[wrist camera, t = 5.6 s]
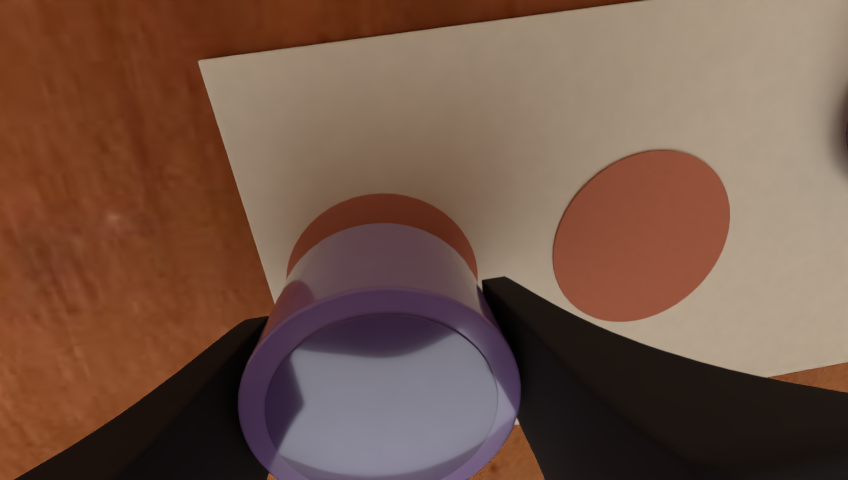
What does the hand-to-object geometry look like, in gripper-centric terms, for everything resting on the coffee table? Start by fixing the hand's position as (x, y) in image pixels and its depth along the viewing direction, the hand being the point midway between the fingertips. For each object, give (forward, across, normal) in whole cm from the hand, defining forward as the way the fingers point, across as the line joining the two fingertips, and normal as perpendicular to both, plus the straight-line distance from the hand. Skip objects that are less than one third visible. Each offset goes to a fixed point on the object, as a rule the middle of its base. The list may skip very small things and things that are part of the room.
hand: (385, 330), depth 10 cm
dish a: (+1, 0, 0) cm, 1 cm away
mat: (+3, -8, 0) cm, 9 cm away
